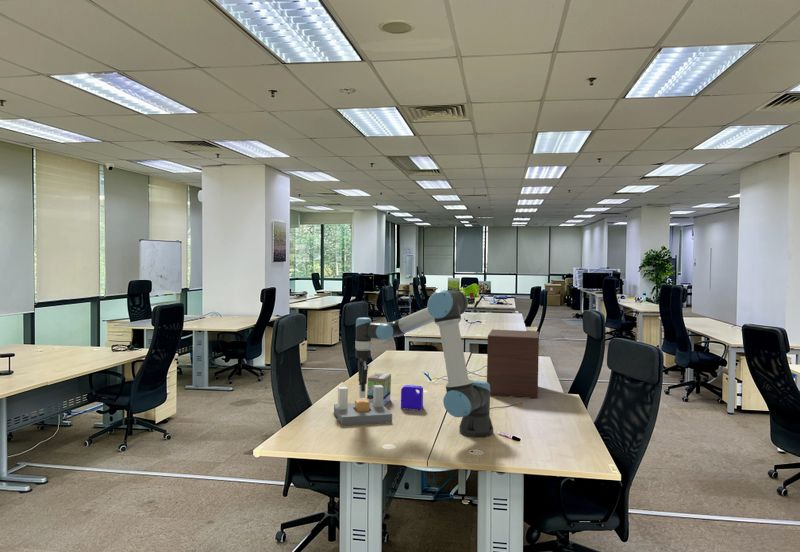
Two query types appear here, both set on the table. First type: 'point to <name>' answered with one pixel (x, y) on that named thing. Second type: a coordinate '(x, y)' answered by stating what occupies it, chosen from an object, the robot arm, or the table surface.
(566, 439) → the table surface
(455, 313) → the robot arm
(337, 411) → the panel
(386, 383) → the tea box
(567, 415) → the table surface
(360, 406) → the button
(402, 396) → the bracket
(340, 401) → the block
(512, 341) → the storage cube
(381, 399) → the light grey tall block
